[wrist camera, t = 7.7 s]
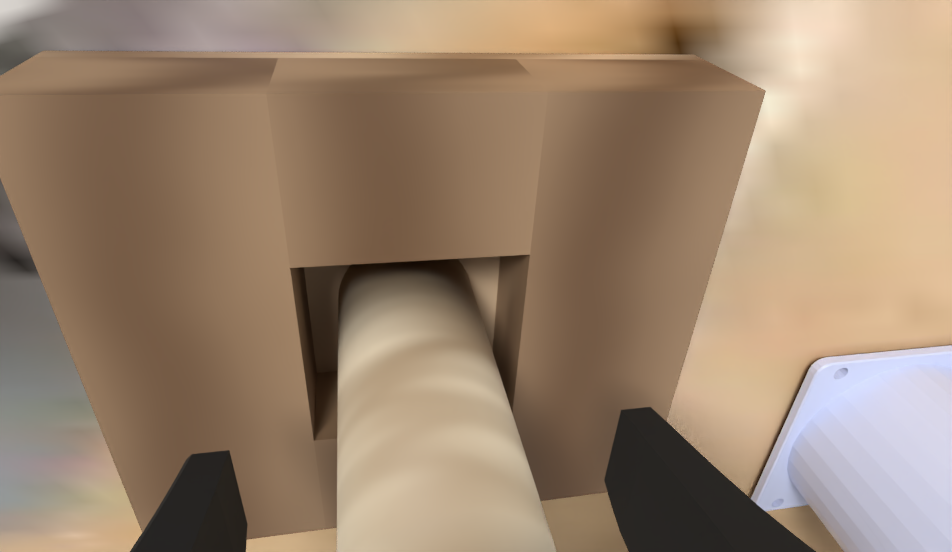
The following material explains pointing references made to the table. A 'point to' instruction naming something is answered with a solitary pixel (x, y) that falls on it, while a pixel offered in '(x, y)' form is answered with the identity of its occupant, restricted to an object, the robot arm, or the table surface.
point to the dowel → (426, 420)
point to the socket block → (364, 240)
